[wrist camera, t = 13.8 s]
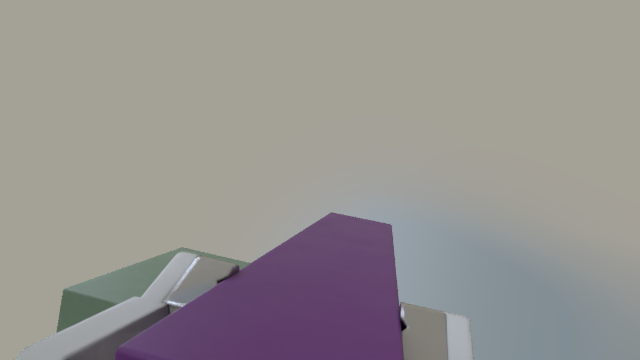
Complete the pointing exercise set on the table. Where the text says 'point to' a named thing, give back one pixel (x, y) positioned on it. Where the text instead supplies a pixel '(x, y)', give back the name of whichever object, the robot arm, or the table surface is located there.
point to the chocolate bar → (293, 303)
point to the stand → (117, 287)
